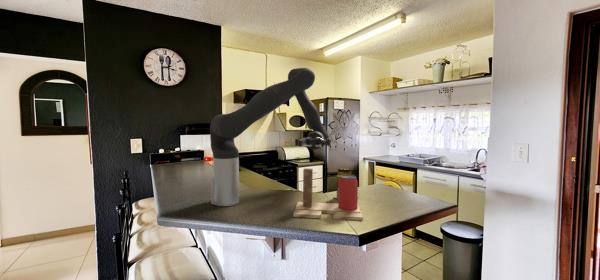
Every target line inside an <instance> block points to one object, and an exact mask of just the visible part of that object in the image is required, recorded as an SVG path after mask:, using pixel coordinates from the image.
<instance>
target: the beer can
mask: <svg viewBox="0 0 600 280" xmlns="http://www.w3.org/2000/svg"><path fill="white" fill-rule="evenodd" d="M358 186H359V183H358V179H357V176H356V175H353V174H351V175H341V176H340V179H339V183H338V202H337V204H338V208H339V209H342V210H346V211H353V210H357V205H358V198H359V196H358V195H359V194H358V193H359V192H358V190H359V189H358Z"/></svg>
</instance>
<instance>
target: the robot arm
mask: <svg viewBox="0 0 600 280" xmlns="http://www.w3.org/2000/svg"><path fill="white" fill-rule="evenodd" d="M315 80H316V74H315V72H314V71H313V70H312V69H311V68H307V67H297V68H296V67H295V68H293V69H291V70H290V71H289V72H288V74H287V80H283V81H281V82H278V83H275V84H271V85H270V86H268V87H265V88H264V89H261V91H259V92H257V93H255V95H254V96H253V97H252V98H251V99H250V100H249V101H248V102H247V104H245V105H244V106H243V107H239V108H238V109H237V110H235V111H232V112H230V113H221V114H217V115H215V116H214V117H213V118H212V119H211V122H210V125H209V129H210V130H209V135H210V136H209V137H210V149H211V152H212V168H213V169H212V171H213V173H212V174H213V177H212V178H210V190H211V191H210V192H211V193H210V196H211V197H210V200H211V201H210V202H211V203H210V204H211V205H215V206H218V207H229V206H234V205H238V204H239V203H240V170H239V169H240V160H239V159H240V156H239V155H240V153H239V149H238V147H236V144H235V139H236V138H237V137H239V136H240V135H242V133H244V131H246V130H247V129H249V127H250V126H252V125H253V124H254V123H256V122H257V121H260V119H263V118H264V117H266V116H267V115H268V114H271V113H272V112H274V111H275V110H277V109H278V108H279V107H280V106H282V105H283V104H285V103H286V102H288V101H289V100H291V99H292V98H295V99H296V100H297V102H298V105H299V106H300V109H301V111H302V114H303V116H304V120H305V123H306V125H307V126H306V127H307V129H308V130H313V131H311V132H309V133H307V135H306V137H303V138H296V139H294V145H295V146H297V147H298V146H299V147H308V148H309V149H310V150H313V151H315V150H319V149H320V148H322V147H326V146H328V147H330V146H331V138H330V135H329V133H328V131H327V130H326V128H325V127H324V125H323V123H322V121H321V118H320V115H319V114H320V113H319V111H318V109H317V107H316V105H315V104H314V103H313V101H312V100H311V99H310V97H309V95H308V94H307V93H306V90H309V89H310V88H311V87H312V86H313V85H314V83H315Z"/></svg>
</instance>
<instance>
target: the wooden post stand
mask: <svg viewBox="0 0 600 280" xmlns="http://www.w3.org/2000/svg"><path fill="white" fill-rule="evenodd" d="M302 172H303V175H302V178H303V180H302V183H303V184H302V185H303V186H302V201H297V204H296V205H295V208H294V210H310V211H322V214H333V215H334V212H351V213H362V211H361V208H360V206H359V204H357V210H353V211H346V210H342V209H339V208H338V203H332V202H331V203H329V202H313V185H314V184H313V178H314V177H313V176H314V175H313V174H314V173H313V172H314V170H313V168H305V167H304V168H303V171H302Z"/></svg>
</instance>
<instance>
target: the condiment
mask: <svg viewBox="0 0 600 280" xmlns="http://www.w3.org/2000/svg"><path fill="white" fill-rule="evenodd" d="M341 175H352V169H351V168H350V167H349V168H348V167H340V168H337V175H336V196H335V195H334V196H333V198H334V199H338V183H339V179H340V176H341Z"/></svg>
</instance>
